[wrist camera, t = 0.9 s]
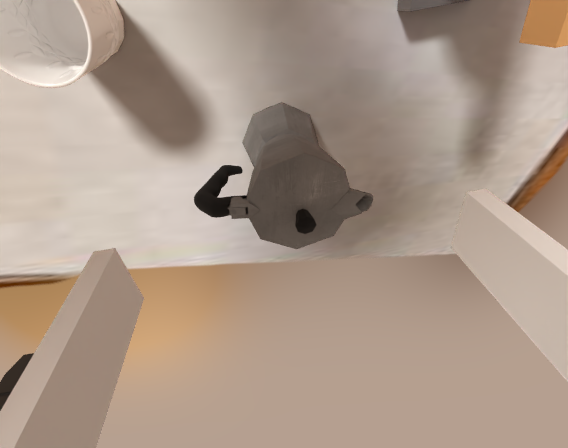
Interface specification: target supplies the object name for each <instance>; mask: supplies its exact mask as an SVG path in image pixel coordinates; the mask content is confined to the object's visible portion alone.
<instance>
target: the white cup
mask: <svg viewBox="0 0 568 448" xmlns="http://www.w3.org/2000/svg"><path fill="white" fill-rule="evenodd" d="M123 39H124V19H123V17H122V15H121V13H120V10H119V8H118V6H117V3H116V1H115V0H0V69H1V70H3V71H4V72H6V73H7V74H9V75H11V76H12V77H14V78H16V79H18V80H20V81H23V82H25V83H28V84H31V85H34V86H39V87H45V88H58V87H63V86H67V85H70V84H72V83H74V82H75V81H77V80H78V79H80V78H81V77H83V76H85V75H86V74H88V73H89V72H91V71H92V70H94V69H95V68H97V67H99V66H100V65H101V64H103V63H104V62H105V61H107V60H108V59H109V57H110V56H111V55H113V54H115V53H116V52H118V50H119V48H120V46H121V44H122V41H123Z"/></svg>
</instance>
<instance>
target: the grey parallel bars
mask: <svg viewBox="0 0 568 448" xmlns="http://www.w3.org/2000/svg"><path fill="white" fill-rule="evenodd" d="M463 1H468V0H398V10H397V11H415V10H421V9H426V8H431V7H436V6H442V5H447V4H452V3H457V2H463Z"/></svg>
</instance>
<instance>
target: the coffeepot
mask: <svg viewBox="0 0 568 448" xmlns="http://www.w3.org/2000/svg"><path fill="white" fill-rule="evenodd" d="M242 143H243V145H244V147H245V149H246V151H247V153H248V155H249V157H250V160H251V162H252V164H253V166H254V170H253V173H252V177H251V181H250V185H249V189H248V193H247V195H246V196H231V197H223V198H217V197H218V195H219V193H220V191H221V188H222V187H224V186H225V184H226V183H227V181H228V176H231V175H235V174H241V173H242V168H241V167H240V166H232V165H224V166H221V168H220V169H219V170H218V171H217V172H216V173H215V174H214V175H213V176H212V177H211V178H210V179H209V180H208V182H207V183H206V184H205V185H204V186H203V187H202V188H201V189H200V190H199V191H198V192H197V193H196V195H195V197H194V202H195V205H196V206H197V207H198V208H199V209H200V210H201V211H203V212H204V213H206V214H208V215H209V216H211V217H224V216H228V215H232V219H237V218H249V219H250V221H251V222H252V224H253V226H254V228H255V230H256V231H257V233H258V235H259V237H260V239H262V240H266V241H270V242H273V243H277V244H280V245H284V246H288V247H291V248H295V249H298V248H301V247H304V246H306V245H309V244H312V243H315V242H317V241H320V240H323V239H326V238H329V237H331V236H334V234H335V233H336V231H337V230H338V228H339V227H340V225H341V224H342V222H343V221H344V219H347V218H349V217H352V216H355V215H358V214H361V213H362V212H364V211H367V210H368V209H369V207H370V206H371V204H372V201H373V196H372V195H371V194H369V193H366V192H362V191H358V190H354V189H351V188H350V187H349V183H348V180H347V176H346V172H345V169H344V168H343V167H342V166H341V165H340V164H339V163H337V162H336V161H335V160H334V159H333V158H332V157H330V156H329V155H328V154H327V153H326V152H325V151H323V150H322V149H321V148H320V147H319V146H318V141H317V138H316V134H315V131H314V128H313V125H312V122H311V119H310V115H309V114H307V113H304V112H302V111H300V110H298V109H296V108H294V107H291V106H289V105H287V104H284V103H279V104H277V105H275V106H272V107H268V108H266V109H264V110H262V111H260V112H258V113H256V114H253V116H252V119H251V121H250V124H249V126H248V129H247V132H246V134H245V137H244V139H243V142H242Z"/></svg>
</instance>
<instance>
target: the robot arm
mask: <svg viewBox="0 0 568 448" xmlns="http://www.w3.org/2000/svg"><path fill="white" fill-rule="evenodd" d="M451 248H452V249H453V251H454V252H455V253H456V254H457V255H458V256H459V257H460V258H461V260H462V261H463V262H464V263H465V264H466V265H467V267H468V268H469V269H470V270H471V271H472V272H473V274H474V275H475V276H476V277H477V278H478V279H479V280H480V281H481V283H482V284H483V285H484V286H485V287H486V288H487V290H488V291H489V292H490V293H491V294H492V295H493V297H494V298H495V299H496V300H497V301H498V302H499V303H500V305H501V306H502V307H503V308H504V309H505V310H506V312H508V314H509V315H510V316H511V317H512V318H513V320H514V321H515V322H516V323H517V324H518V325H519V326H520V327H521V329H522V330H523V331H524V332H525V333H526V334H527V336H528V337H529V338H530V339H531V340H532V341H533V342H534V344H535V345H536V346H537V347H538V348H539V349H540V350H541V352H542V353H543V354H544V355H545V356H546V357H547V359H548V360H549V361H550V362H551V363H552V364H553V366H554V367H555V368H556V369H557V370H558V371H559V373H560V374H561V375H562V376H563V377H564V378H565V379H566V380H567V382H568V250H567V249H566V248H565V247H563V246H562V245H560V244H559V243H558V242H557V241H555V240H554V239H552V238H551V237H550V236H548V235H547V234H546V233H544V232H543V231H541V230H540V229H539V228H538V227H536V226H535V225H534V224H532V223H531V222H530V221H528V220H527V219H526V218H524V217H523V216H522V215H520V214H519V213H518V212H516V211H515V210H514V209H512V208H511V207H510V206H508V205H507V204H506V203H504V202H503V201H502V200H500V199H499V198H498V197H496V196H495V195H494V194H492V193H491V192H490V191H488V190H487V189H481V190H475V191H469V192H466V195H465V198H464V202H463V205H462V209H461V212H460V216H459V219H458V223H457V227H456V230H455V234H454V237H453V241H452V244H451ZM143 300H144V297H143V296H142V294H141V292H140V290H139V289H138V287H137V286H136V283H135V282H134V280H133V278H132V277H131V275H130V273H129V272H128V270H127V268H126V266H125V265H124V263H123V261H122V259H121V258H120V256H119V254H118V252H117V251H116V249H115V248H113V249H107V250H101V251H95V252H93V254H92V255H91V257H90V259H89V261H88V262H87V264H86V266H85V267H84V269H83V271H82V273H81V274H80V276H79V278H78V279H77V281H76V283H75V284H74V286H73V288H72V290H71V291H70V293H69V295H68V296H67V298H66V300H65V302H64V303H63V305H62V307H61V309H60V310H59V312H58V314H57V315H56V317H55V319H54V321H53V322H52V324H51V326H50V327H49V329H48V331H47V332H46V334H45V336H44V337H43V339H42V341H41V343H40V344H39V346H38V348H37V349H36V351H35V353H33V354H27V355H23V356H22V357H21V359H19V360H18V361H17V362H16V364H15V365H14V366H13V367H12V368H11V369H10V370H9V371H8V372H7V373H6V374H5V375H4V377H3V378H2V380H1V382H0V448H96V445H97V443H98V439H99V436H100V433H101V430H102V427H103V424H104V421H105V418H106V415H107V412H108V408H109V405H110V402H111V399H112V396H113V393H114V390H115V386H116V384H117V380H118V377H119V374H120V371H121V368H122V365H123V362H124V359H125V355H126V352H127V349H128V346H129V343H130V340H131V337H132V334H133V331H134V328H135V324H136V321H137V318H138V315H139V312H140V309H141V306H142V303H143Z"/></svg>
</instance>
